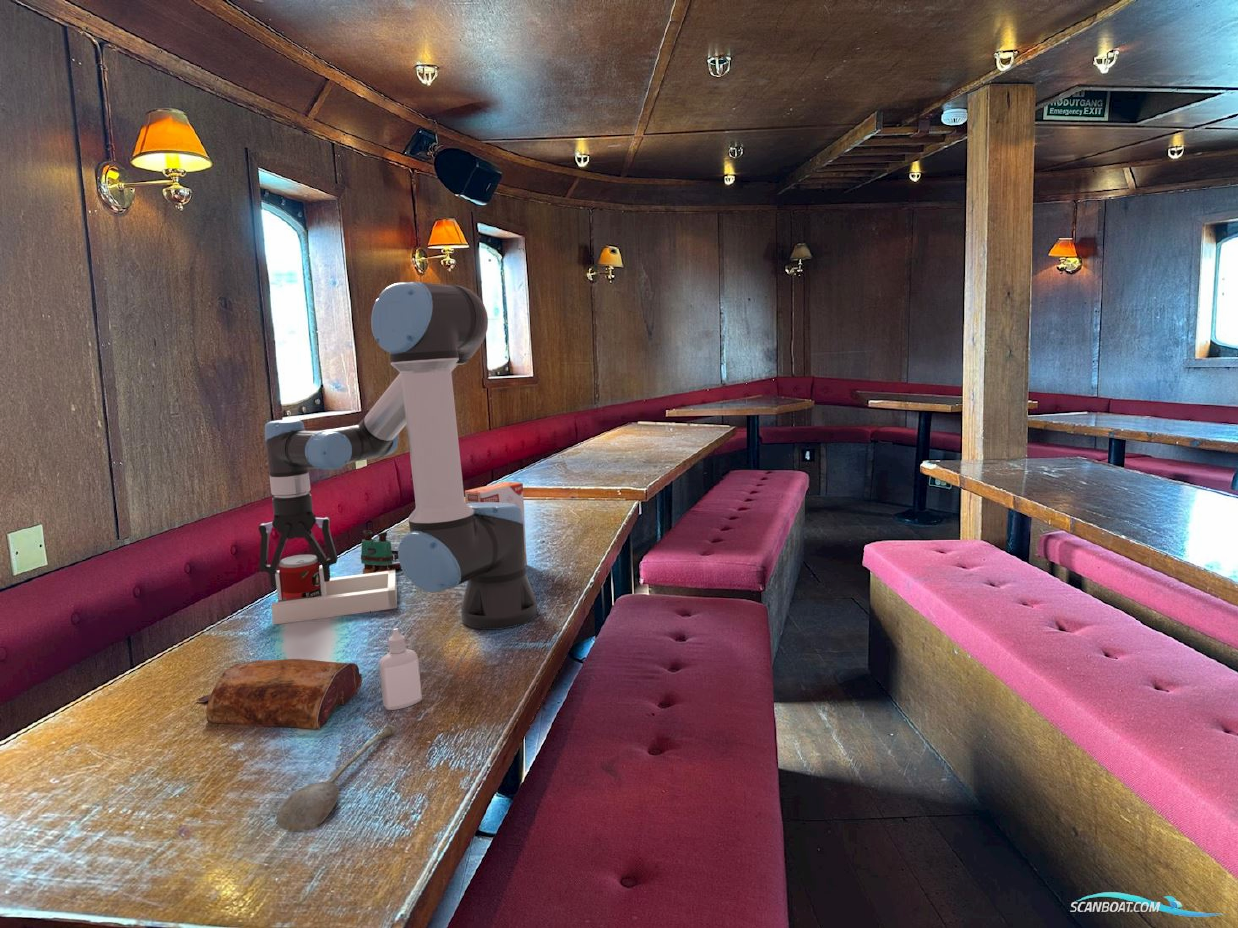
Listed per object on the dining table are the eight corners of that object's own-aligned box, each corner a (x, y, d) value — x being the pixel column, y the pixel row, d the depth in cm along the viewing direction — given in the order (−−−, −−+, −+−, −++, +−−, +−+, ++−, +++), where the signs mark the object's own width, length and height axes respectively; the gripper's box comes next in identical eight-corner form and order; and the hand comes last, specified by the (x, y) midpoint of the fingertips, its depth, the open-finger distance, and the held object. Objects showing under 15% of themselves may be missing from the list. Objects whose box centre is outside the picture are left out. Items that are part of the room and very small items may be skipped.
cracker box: (487, 580, 172) (480, 492, 169) (469, 576, 176) (462, 490, 173) (529, 564, 183) (523, 481, 180) (511, 561, 187) (506, 480, 184)
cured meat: (238, 673, 128) (233, 636, 127) (375, 676, 124) (371, 638, 123) (162, 729, 110) (154, 687, 109) (319, 734, 107) (313, 690, 106)
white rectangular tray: (396, 607, 157) (395, 589, 156) (273, 624, 150) (270, 605, 149) (396, 586, 171) (395, 570, 170) (284, 601, 164) (282, 583, 164)
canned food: (309, 616, 154) (304, 565, 152) (275, 614, 156) (269, 564, 154) (331, 603, 161) (326, 554, 160) (298, 602, 163) (292, 553, 161)
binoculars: (409, 527, 187) (383, 533, 177) (410, 569, 187) (384, 577, 178) (381, 525, 190) (353, 531, 181) (382, 566, 191) (354, 574, 181)
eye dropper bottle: (418, 709, 112) (411, 633, 110) (380, 711, 111) (372, 635, 109) (424, 695, 116) (417, 622, 114) (387, 698, 116) (380, 624, 114)
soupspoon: (264, 836, 85) (314, 846, 84) (261, 810, 85) (311, 820, 83) (371, 732, 106) (412, 738, 105) (369, 710, 105) (411, 716, 104)
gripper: (345, 486, 161) (355, 587, 165) (240, 495, 155) (253, 599, 159) (343, 492, 154) (353, 598, 158) (233, 502, 148) (246, 611, 152)
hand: (303, 598), depth 158 cm, fingers closed on canned food, 8 cm apart
